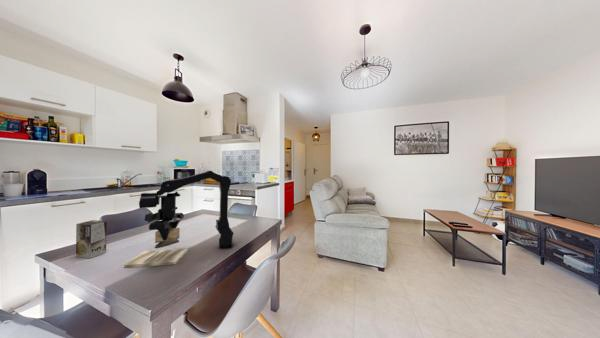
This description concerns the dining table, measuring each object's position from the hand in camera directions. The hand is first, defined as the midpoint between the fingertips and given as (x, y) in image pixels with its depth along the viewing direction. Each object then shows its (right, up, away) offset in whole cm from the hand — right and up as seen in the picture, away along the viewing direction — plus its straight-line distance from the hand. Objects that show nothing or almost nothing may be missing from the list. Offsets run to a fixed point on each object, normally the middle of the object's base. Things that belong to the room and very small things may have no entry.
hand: (167, 238), depth 85 cm
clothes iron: (-13, -10, +15) cm, 22 cm away
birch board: (-4, -10, -1) cm, 10 cm away
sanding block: (0, -1, 0) cm, 1 cm away
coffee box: (-39, -9, +2) cm, 40 cm away
